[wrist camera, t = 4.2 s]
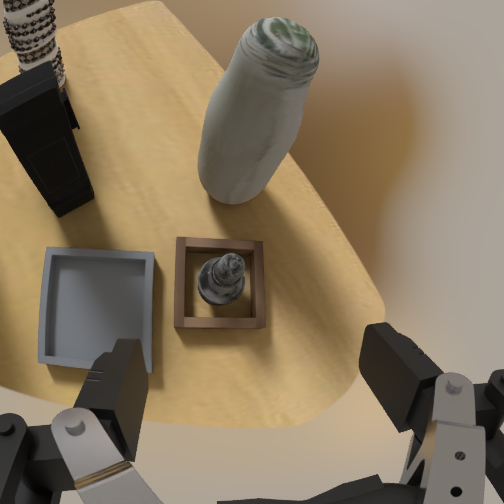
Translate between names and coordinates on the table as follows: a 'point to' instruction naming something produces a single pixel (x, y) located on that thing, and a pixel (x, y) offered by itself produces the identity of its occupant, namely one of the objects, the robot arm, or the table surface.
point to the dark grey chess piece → (222, 279)
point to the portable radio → (45, 137)
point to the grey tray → (94, 304)
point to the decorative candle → (33, 34)
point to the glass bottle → (256, 109)
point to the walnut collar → (221, 248)
